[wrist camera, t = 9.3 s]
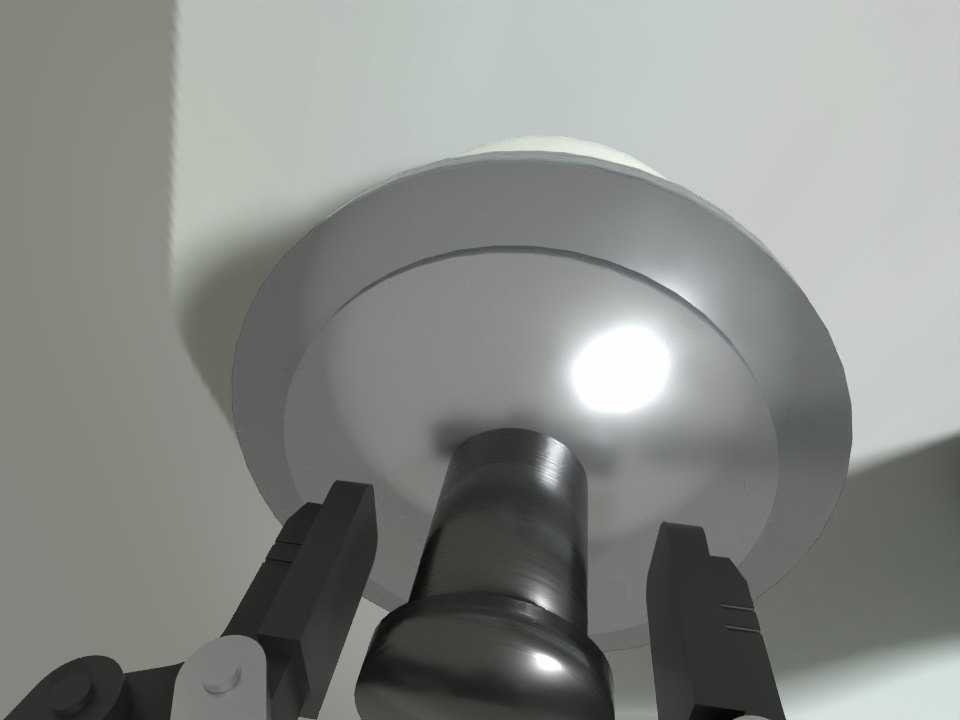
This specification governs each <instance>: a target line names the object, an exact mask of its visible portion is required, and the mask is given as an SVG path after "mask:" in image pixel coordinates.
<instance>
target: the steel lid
mask: <svg viewBox="0 0 960 720" xmlns="http://www.w3.org/2000/svg"><path fill="white" fill-rule="evenodd" d="M232 408H233V414H234V420H235V425H236V431H237V437H238V440H239V443H240V446H241V449H242V452H243V455H244V458H245V462H246V465H247V467H248V469H249V471H250V473H251V475H252V478H253V480H254V482H255V484H256V486H257V488H258V490H259V492H260V494H261V495H262V497H263V498H264V500H265V502H266V503H267V505H268V506H269V508H270V509H271V511H272V512H273V514H274V516H275V517H276V518H277V519H278V521H279V522H280V523H281V525H282V526H284V524H285V523H286V521H287V519H288V518H289V517H291V516H292V515H293V514H294V513H295V512H296V511H298V510H299V509H300V508H301V507H302V506H303V505H305V504H306V503H307V502H311V503H319V504H323V502H324V500H325V498H326V496H327V494H328V492H329V490H330V488H331V486H332V485H333V483H334V482H335V481H336V480H342V481H350V482H358V483H366V484H372V485H373V488H374V496H375V508H376V520H377V531H378V542H377V550H376V556H375V560H374V563H373V566H372V569H371V572H370V575H369V577H368V580H367V583H366V586H365V588H364V591H363V594H362V597H364V598H366V599H368V600H369V601H371V602H373V603H375V604H376V605H378V606H380V607H382V608H383V609H385V610H387V611H389V612H390V613H389V614H388V615H387V616H386V617H385V618H383V619H382V621H381V622H380V623H379V625H378V626H377V627H376V629H375V631H374V634H373V636H372V639H371V641H370V645H369V647H368V651H367V653H366V657H365V659H364V662H363V665H362V668H361V671H360V674H359V677H358V680H357V683H356V688H355V693H354V694H355V704H356V708H357V711H358V713H359V715H360V718H361V720H615V712H614V684H613V675H612V671H611V668H610V665H609V663H608V661H607V659H606V658H605V656H604V654H603V652H607V651H614V650H622V649H629V648H635V647H640V646H644V645H649V644H650V634H649V625H648V615H647V605H646V584H647V575H648V570H649V567H650V563H651V559H652V555H653V551H654V547H655V544H656V540H657V536H658V532H659V528H660V525H661V523H662V522H670V523H678V524H686V525H694V526H701V527H702V528H703V529H704V532H705V536H706V540H707V544H708V549H709V553H710V555H711V556H719V557H727V558H730V559H731V561H732V562H733V563H734V565H735V566H736V568H737V569H738V570H739V572H740V573H741V574H742V576H743V577H744V578H745V580H746V581H747V584H748V587H749V591H750V594H751V598H752V601H754V600H755V599H756V598H758V597H759V596H760V595H762V594H763V593H764V592H766V591H767V590H768V589H770V588H771V587H772V586H774V585H775V584H776V583H778V582H779V581H780V580H781V579H782V578H783V577H784V576H785V575H786V574H787V573H788V572H789V571H790V570H791V569H792V568H793V567H794V566H795V565H796V564H797V563H798V562H799V561H800V560H801V559H802V558H803V556H804V555H805V554H806V553H807V551H808V550H809V549H810V547H811V546H812V545H813V543H814V542H815V541H816V540H817V538H818V537H819V536H820V534H821V532H822V531H823V529H824V527H825V525H826V523H827V521H828V520H829V518H830V516H831V514H832V512H833V510H834V509H835V507H836V505H837V502H838V499H839V496H840V493H841V490H842V487H843V484H844V481H845V479H846V476H847V471H848V465H849V458H850V452H851V445H852V411H851V400H850V396H849V391H848V387H847V382H846V377H845V373H844V368H843V365H842V363H841V360H840V358H839V356H838V353H837V351H836V349H835V346H834V344H833V341H832V339H831V337H830V334H829V332H828V329H827V328H826V326H825V325H824V323H823V322H822V320H821V319H820V317H819V315H818V314H817V312H816V311H815V309H814V308H813V306H812V305H811V303H810V302H809V300H808V298H807V297H806V295H805V294H804V292H803V291H802V290H801V288H800V287H799V285H798V284H797V283H796V281H795V280H794V278H793V277H792V276H791V274H790V273H789V271H788V270H787V269H786V268H785V267H784V266H783V265H782V264H781V263H780V261H779V260H778V259H777V258H776V257H775V256H774V255H773V254H772V253H771V252H770V250H769V249H768V248H767V247H766V246H765V245H764V244H763V243H762V242H761V241H760V239H758V238H757V237H756V236H755V235H753V234H752V233H751V232H750V231H748V230H747V229H746V228H745V227H743V226H742V225H741V224H740V223H739V222H737V221H736V220H735V219H734V218H732V217H731V216H730V215H729V214H727V213H726V212H725V211H723V210H722V209H720V208H718V207H717V206H715V205H713V204H712V203H710V202H708V201H706V200H705V199H703V198H701V197H700V196H698V195H696V194H694V193H693V192H691V191H689V190H688V189H686V188H684V187H682V186H680V185H677V184H675V183H672V182H670V181H668V180H665V179H663V178H660V177H658V176H655V175H653V174H651V173H648V172H646V171H643V170H641V169H638V168H634V167H631V166H627V165H623V164H619V163H615V162H611V161H607V160H603V159H599V158H595V157H592V156H585V155H576V154H567V153H559V152H550V151H542V150H540V151H492V152H486V153H480V154H473V155H467V156H461V157H454V158H448V159H444V160H441V161H437V162H434V163H431V164H428V165H424V166H421V167H418V168H415V169H411V170H408V171H405V172H402V173H400V174H398V175H396V176H394V177H392V178H390V179H388V180H385V181H383V182H381V183H379V184H377V185H375V186H373V187H371V188H369V189H366V190H365V191H363V192H362V193H360V194H359V195H357V196H356V197H354V198H353V199H351V200H350V201H348V202H347V203H345V204H344V205H342V206H341V207H339V208H338V209H336V210H335V211H333V212H332V213H331V214H330V215H328V216H327V217H326V218H325V219H324V220H323V221H321V222H320V223H319V224H318V225H317V226H316V227H314V228H313V229H312V230H311V231H310V232H309V233H308V234H307V235H306V236H305V237H304V238H303V239H302V240H300V241H299V242H298V243H297V244H296V245H295V246H294V247H293V248H292V249H291V250H290V251H289V252H288V253H287V254H285V256H284V257H283V258H282V259H281V261H280V262H279V263H278V265H277V266H276V267H275V269H274V270H273V271H272V273H271V274H270V275H269V276H268V278H267V279H266V280H265V282H264V283H263V284H262V286H261V288H260V290H259V292H258V294H257V296H256V298H255V300H254V301H253V303H252V305H251V307H250V309H249V311H248V313H247V315H246V318H245V321H244V324H243V327H242V330H241V333H240V336H239V340H238V343H237V346H236V352H235V359H234V366H233V373H232Z"/></svg>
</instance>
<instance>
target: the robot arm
mask: <svg viewBox="0 0 960 720" xmlns="http://www.w3.org/2000/svg"><path fill="white" fill-rule="evenodd" d="M377 542H378V531H377V520H376V508H375V496H374V488H373V485H372V484H366V483H358V482H350V481H342V480H336V481H335V482H334V483H333V485H332V486H331V488H330V490H329V492H328V494H327V496H326V498H325V500H324V502H323V504H319V503H311V502H307V503H306V504H305V505H303V506H302V507H301V508H300V509H299V510H298V511H296V512H295V513H294V514H293V515H292V516H291V517H289V518H288V519H287V521H286V523H285V524H284V526H283V528H282V530H281V532H280V533H279V535H278V537H277V539H276V542H275V545H273V546H272V548H271V550H270V551H269V553H268V555H267V557H266V560H265V563H263V564H262V565H261V567H260V569H259V571H258V573H257V574H256V576H255V578H254V580H253V581H252V583H251V585H250V587H249V589H248V590H247V592H246V594H245V596H244V598H243V599H242V601H241V603H240V605H239V606H238V608H237V610H236V612H235V614H234V615H233V617H232V619H231V621H230V622H229V624H228V626H227V628H226V629H225V631H224V632H223V634H222V635H221V636H220V637H219V638H217V639H214V640H212V641H210V642H208V643H206V644H205V645H203V646H201V647H200V648H199V649H197V650H196V651H195V652H194V653H193V654H192V655H191V656H190V657H189V658H188V659H187V660H186V661H185V662H182V663H179V664H176V665H172V666H167V667H160V668H155V669H148V670H143V671H136V672H130V673H125V674H124V673H123V671H122V669H121V667H120V666H119V664H118V663H117V662H116V661H115V660H113V659H111V658H109V657H105V656H97V655H94V656H86V657H82V658H78V659H75V660H73V661H70V662H68V663H66V664H64V665H62V666H60V667H59V668H57V669H56V670H54V671H52V672H51V673H50V674H49V675H47V676H46V677H45V678H44V679H43V680H42V681H40V683H38V684H37V685H36V687H35V688H34V689H33V690H32V691H31V692H30V693H29V694H28V695H27V696H26V697H25V698H24V699H23V700H22V701H21V702H20V703H19V704H18V705H17V706H16V708H14V709H13V710H12V712H11V713H10V714H9V715H8V716H7V717H6V718H5V719H4V720H298V717H304V718H310V719H317V717H318V714H319V711H320V709H321V706H322V703H323V700H324V698H325V695H326V692H327V689H328V687H329V684H330V681H331V678H332V676H333V673H334V670H335V668H336V665H337V662H338V659H339V656H340V654H341V651H342V648H343V646H344V643H345V640H346V637H347V635H348V632H349V629H350V627H351V624H352V621H353V618H354V615H355V613H356V610H357V607H358V605H359V602H360V599H361V596H362V594H363V591H364V588H365V586H366V583H367V580H368V577H369V575H370V572H371V569H372V566H373V563H374V560H375V556H376V550H377ZM646 605H647V615H648V625H649V634H650V644H651V653H652V663H653V672H654V681H655V691H656V700H657V710H658V719H659V720H786V718H785V715H784V712H783V708H782V705H781V701H780V698H779V694H778V691H777V687H776V683H775V680H774V676H773V673H772V669H771V666H770V662H769V658H768V655H767V651H766V648H765V644H764V641H763V637H762V635H760V626H759V623H758V619H757V616H756V613H754V605H753V601H752V598H751V594H750V591H749V587H748V584H747V581H746V580H745V578H744V577H743V576H742V574H741V573H740V572H739V570H738V569H737V568H736V566H735V565H734V563H733V562H732V561H731V559H730V558H727V557H719V556H711V555H710V553H709V549H708V544H707V540H706V536H705V532H704V529H703V528H702V527H701V526H694V525H686V524H678V523H670V522H662V523H661V525H660V528H659V532H658V536H657V540H656V544H655V547H654V551H653V555H652V559H651V563H650V567H649V570H648V575H647V584H646Z"/></svg>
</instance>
